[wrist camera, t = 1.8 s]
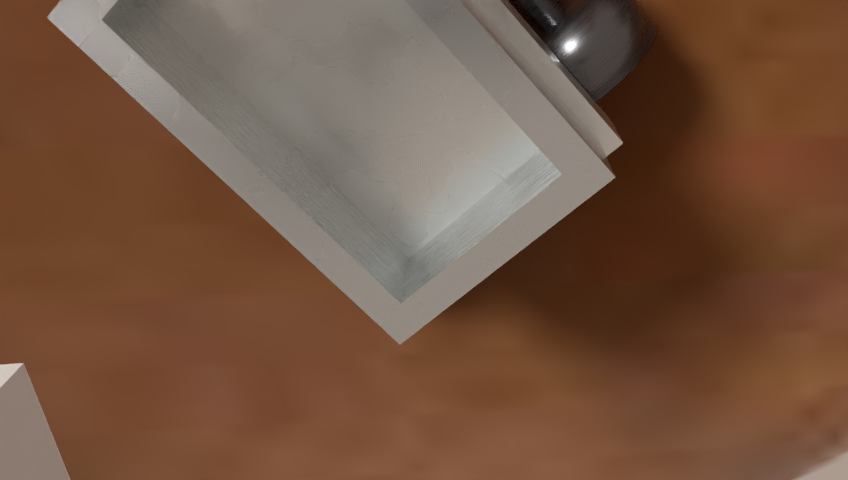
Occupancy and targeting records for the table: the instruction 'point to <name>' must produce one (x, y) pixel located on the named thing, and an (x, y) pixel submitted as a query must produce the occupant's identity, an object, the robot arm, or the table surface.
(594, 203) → the table surface
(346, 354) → the table surface
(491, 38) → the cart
